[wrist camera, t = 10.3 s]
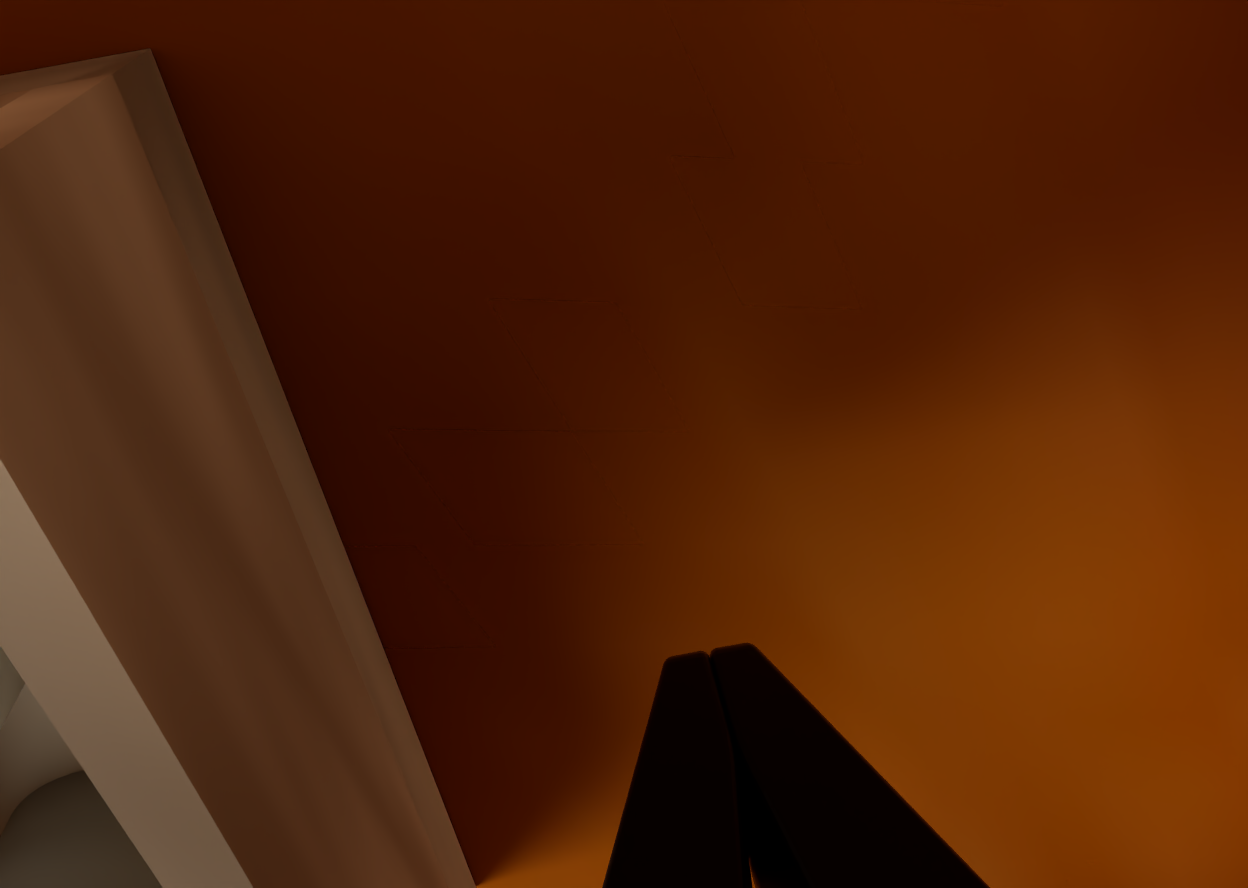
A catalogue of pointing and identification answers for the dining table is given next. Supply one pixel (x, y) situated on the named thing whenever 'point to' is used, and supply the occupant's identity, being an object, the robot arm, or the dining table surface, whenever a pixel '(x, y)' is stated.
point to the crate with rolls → (171, 544)
